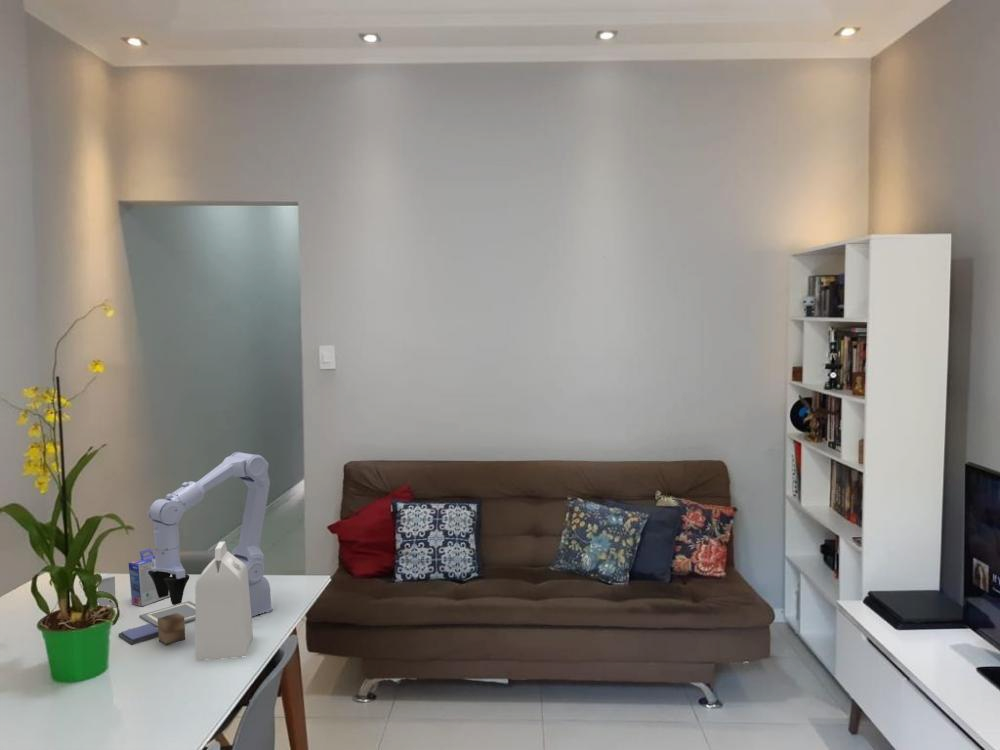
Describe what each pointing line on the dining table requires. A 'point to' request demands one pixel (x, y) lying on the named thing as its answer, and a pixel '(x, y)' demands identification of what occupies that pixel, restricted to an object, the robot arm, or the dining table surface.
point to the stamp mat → (183, 609)
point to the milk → (223, 608)
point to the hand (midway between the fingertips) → (169, 600)
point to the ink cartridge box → (143, 581)
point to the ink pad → (139, 634)
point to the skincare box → (107, 588)
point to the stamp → (171, 629)
